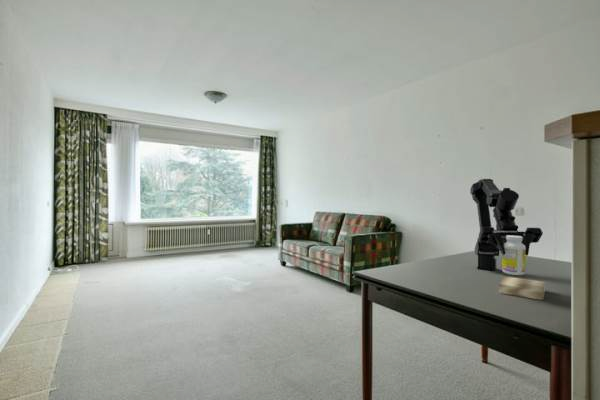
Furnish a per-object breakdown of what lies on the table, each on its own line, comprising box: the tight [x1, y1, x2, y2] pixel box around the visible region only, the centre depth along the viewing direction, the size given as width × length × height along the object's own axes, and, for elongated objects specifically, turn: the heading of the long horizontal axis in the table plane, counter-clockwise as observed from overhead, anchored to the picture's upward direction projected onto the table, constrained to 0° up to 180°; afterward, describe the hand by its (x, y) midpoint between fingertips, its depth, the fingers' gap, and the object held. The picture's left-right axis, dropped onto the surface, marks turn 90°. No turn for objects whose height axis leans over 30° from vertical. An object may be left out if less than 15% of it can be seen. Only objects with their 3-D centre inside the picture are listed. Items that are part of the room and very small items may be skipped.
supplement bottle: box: [501, 235, 526, 276], centre depth 110 cm, size 7×7×13 cm
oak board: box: [498, 276, 547, 301], centre depth 110 cm, size 12×12×3 cm
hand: (515, 254), depth 109 cm, fingers closed on supplement bottle, 7 cm apart
